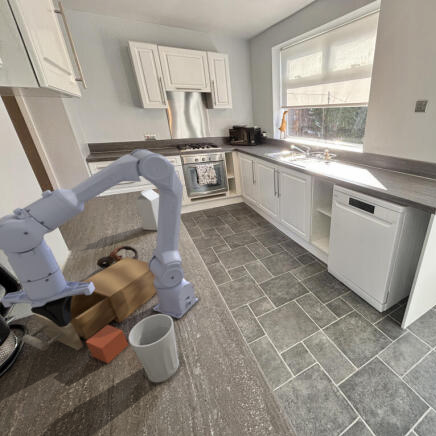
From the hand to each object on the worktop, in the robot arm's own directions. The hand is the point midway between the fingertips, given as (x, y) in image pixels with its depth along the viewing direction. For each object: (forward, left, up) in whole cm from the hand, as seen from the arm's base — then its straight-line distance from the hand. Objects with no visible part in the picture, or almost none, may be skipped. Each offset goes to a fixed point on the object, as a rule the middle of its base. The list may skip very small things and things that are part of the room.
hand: (65, 323), depth 53 cm
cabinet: (+6, -17, -9) cm, 20 cm away
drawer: (+6, -4, -8) cm, 11 cm away
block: (-6, -3, -9) cm, 12 cm away
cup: (-21, -4, -10) cm, 24 cm away
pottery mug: (+23, -28, -10) cm, 37 cm away
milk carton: (+38, -56, -9) cm, 68 cm away
